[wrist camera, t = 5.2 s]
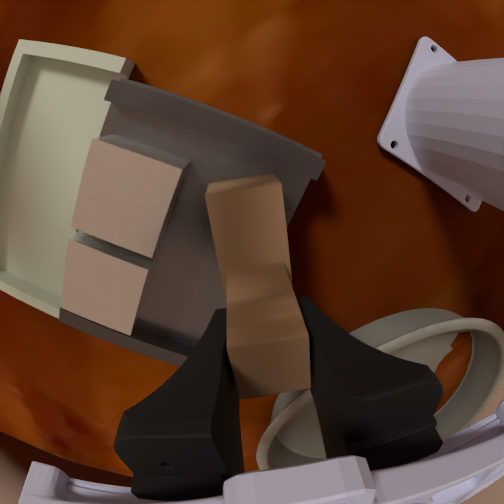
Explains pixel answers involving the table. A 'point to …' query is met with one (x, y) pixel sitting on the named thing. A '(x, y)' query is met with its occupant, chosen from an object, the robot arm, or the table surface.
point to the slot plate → (192, 208)
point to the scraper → (258, 286)
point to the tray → (47, 159)
